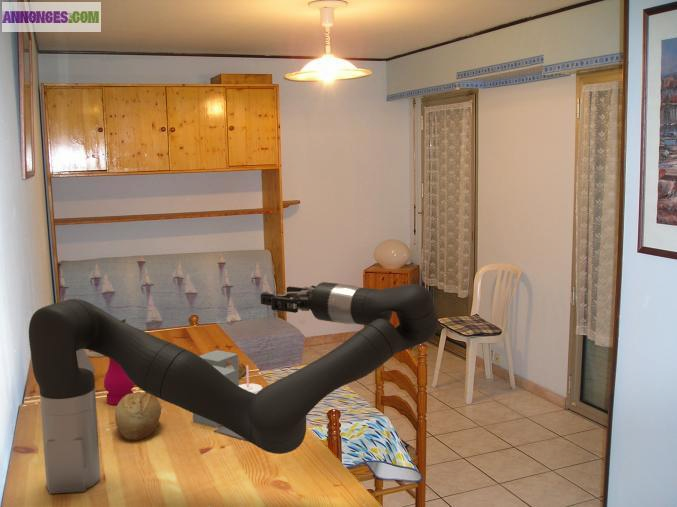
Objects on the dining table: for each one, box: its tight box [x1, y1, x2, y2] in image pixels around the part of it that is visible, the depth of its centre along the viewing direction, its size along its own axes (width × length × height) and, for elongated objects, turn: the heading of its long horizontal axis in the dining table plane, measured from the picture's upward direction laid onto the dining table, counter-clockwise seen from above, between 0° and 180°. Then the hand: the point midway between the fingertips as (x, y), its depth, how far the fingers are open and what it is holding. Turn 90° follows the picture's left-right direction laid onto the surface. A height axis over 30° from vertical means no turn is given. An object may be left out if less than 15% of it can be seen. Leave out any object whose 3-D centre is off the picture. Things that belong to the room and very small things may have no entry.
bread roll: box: [114, 391, 162, 441], centre depth 151 cm, size 10×15×8 cm, turn 18°
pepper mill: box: [103, 357, 136, 406], centre depth 168 cm, size 7×7×20 cm
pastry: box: [238, 359, 246, 379], centre depth 186 cm, size 9×7×4 cm
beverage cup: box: [238, 364, 263, 394], centre depth 149 cm, size 6×6×14 cm
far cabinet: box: [199, 349, 240, 385], centre depth 168 cm, size 8×7×11 cm
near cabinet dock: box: [192, 365, 250, 443], centre depth 152 cm, size 19×11×11 cm, turn 56°
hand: (274, 294), depth 143 cm, fingers open, 8 cm apart
